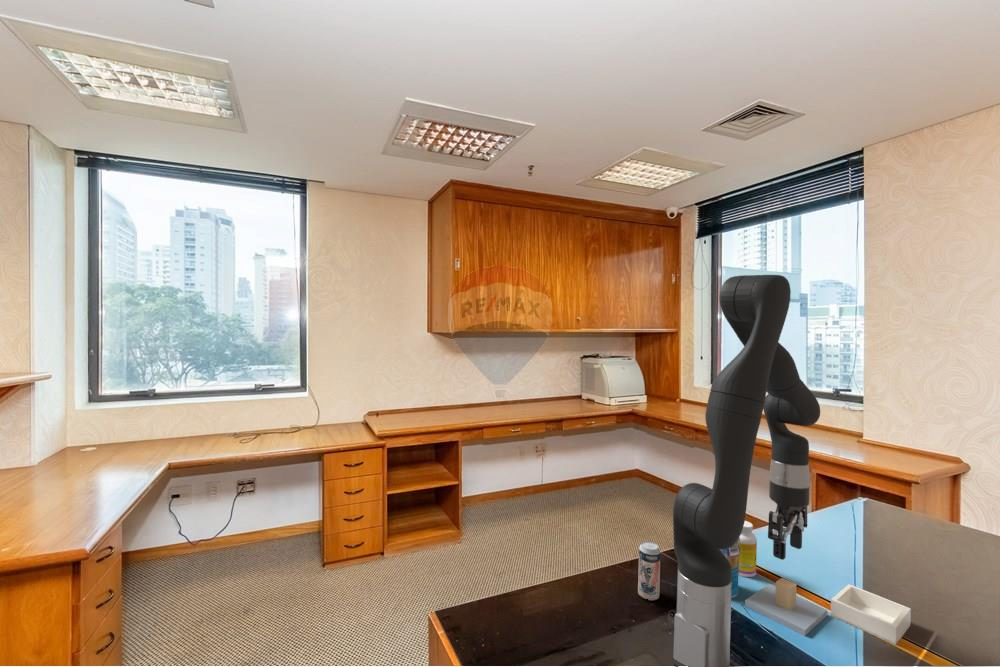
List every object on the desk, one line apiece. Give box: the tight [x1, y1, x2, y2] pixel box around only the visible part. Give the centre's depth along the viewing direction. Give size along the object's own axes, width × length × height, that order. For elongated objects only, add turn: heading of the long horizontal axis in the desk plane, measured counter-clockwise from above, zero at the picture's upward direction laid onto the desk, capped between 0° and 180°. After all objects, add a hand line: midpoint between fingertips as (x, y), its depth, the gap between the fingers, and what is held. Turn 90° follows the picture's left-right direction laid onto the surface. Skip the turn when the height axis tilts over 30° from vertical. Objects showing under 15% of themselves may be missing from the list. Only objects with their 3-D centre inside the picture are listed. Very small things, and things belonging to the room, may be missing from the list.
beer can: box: [637, 541, 661, 601], centre depth 104 cm, size 5×5×12 cm
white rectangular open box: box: [830, 583, 912, 646], centre depth 96 cm, size 11×11×4 cm
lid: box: [744, 577, 828, 637], centre depth 99 cm, size 12×12×6 cm
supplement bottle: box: [738, 520, 758, 578], centre depth 116 cm, size 7×7×13 cm
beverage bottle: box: [720, 538, 740, 599], centre depth 107 cm, size 8×8×20 cm
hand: (787, 552), depth 99 cm, fingers open, 8 cm apart
